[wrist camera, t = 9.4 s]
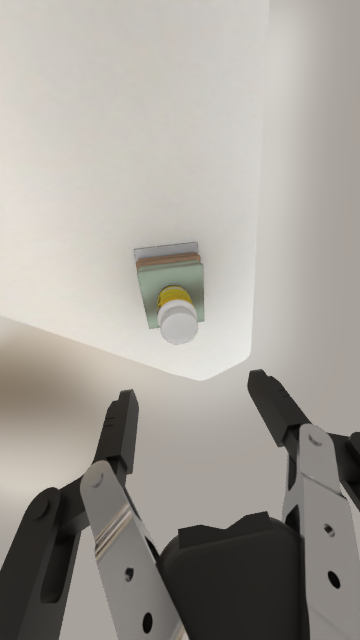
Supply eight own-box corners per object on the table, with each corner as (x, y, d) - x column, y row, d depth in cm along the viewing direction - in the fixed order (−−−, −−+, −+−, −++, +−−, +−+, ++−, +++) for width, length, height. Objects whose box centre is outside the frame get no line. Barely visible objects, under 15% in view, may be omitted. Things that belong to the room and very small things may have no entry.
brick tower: (138, 258, 29) (132, 269, 22) (195, 252, 29) (206, 260, 23) (149, 310, 34) (146, 332, 27) (197, 303, 34) (207, 323, 28)
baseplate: (134, 249, 29) (133, 250, 28) (196, 242, 30) (197, 242, 29) (148, 314, 36) (148, 316, 35) (199, 307, 36) (200, 309, 35)
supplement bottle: (153, 287, 24) (151, 315, 16) (186, 279, 24) (198, 304, 16) (161, 316, 26) (163, 351, 19) (191, 309, 26) (204, 342, 19)
